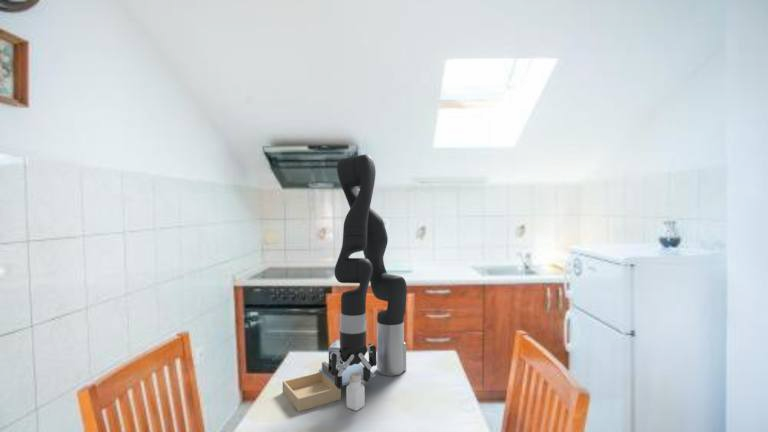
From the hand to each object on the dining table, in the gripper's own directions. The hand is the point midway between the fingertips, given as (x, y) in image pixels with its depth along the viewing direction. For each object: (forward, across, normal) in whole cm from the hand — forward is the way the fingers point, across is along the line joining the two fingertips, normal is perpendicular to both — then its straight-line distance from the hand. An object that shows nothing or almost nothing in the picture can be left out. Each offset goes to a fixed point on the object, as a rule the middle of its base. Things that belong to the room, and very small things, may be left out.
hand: (352, 384), depth 117 cm
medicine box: (+6, -8, -27) cm, 29 cm away
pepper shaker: (+7, -1, 0) cm, 7 cm away
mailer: (+7, +8, -12) cm, 16 cm away
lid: (+2, -4, -13) cm, 14 cm away
